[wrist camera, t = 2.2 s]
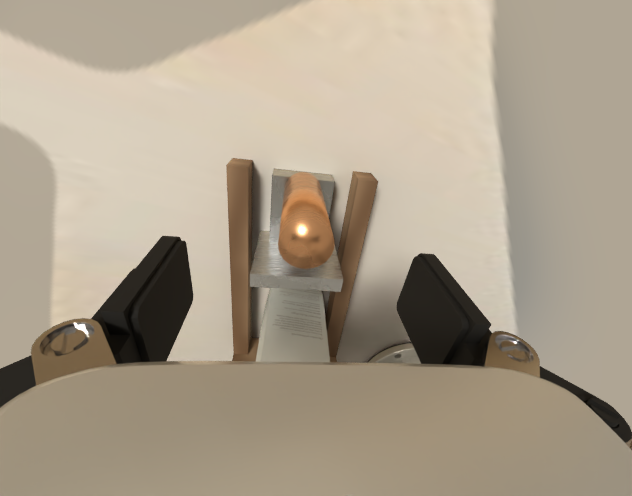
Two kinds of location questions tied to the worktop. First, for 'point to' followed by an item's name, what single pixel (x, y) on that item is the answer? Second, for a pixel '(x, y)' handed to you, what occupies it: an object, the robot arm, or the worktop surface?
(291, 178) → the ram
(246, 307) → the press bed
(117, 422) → the robot arm
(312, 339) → the skincare box
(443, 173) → the worktop surface
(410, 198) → the worktop surface
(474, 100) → the worktop surface
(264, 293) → the worktop surface
